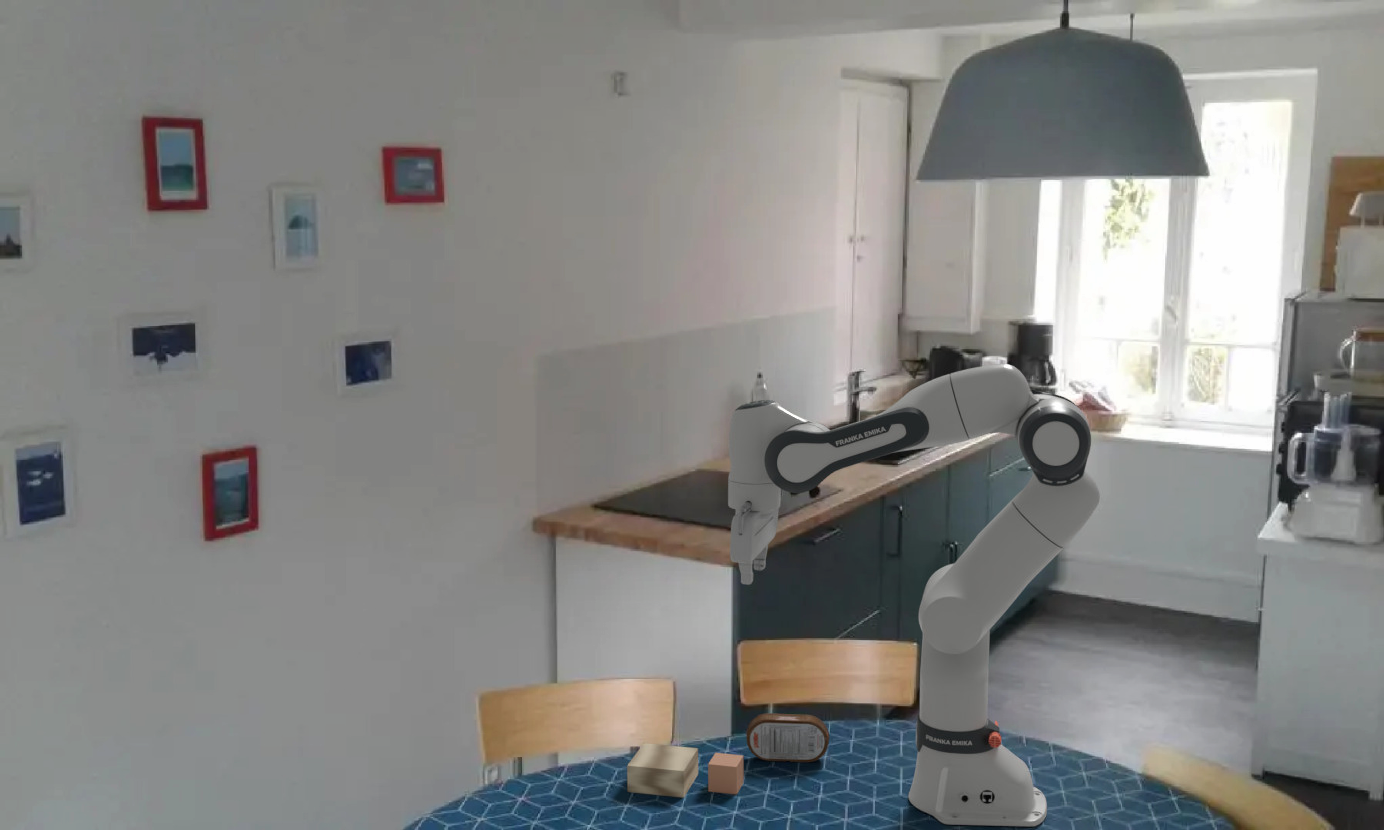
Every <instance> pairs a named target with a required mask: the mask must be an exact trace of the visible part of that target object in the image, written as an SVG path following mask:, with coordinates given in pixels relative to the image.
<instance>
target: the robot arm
mask: <svg viewBox="0 0 1384 830" xmlns="http://www.w3.org/2000/svg"><path fill="white" fill-rule="evenodd" d="M998 433H999V434H1006V435H1010V436H1012V437H1014V438H1015V440H1016V441H1017V442H1016V443H1017V444H1018V447H1019V448H1020V452H1021V455H1022V457H1023V458H1024V460H1025V462H1026V464H1027V465H1028V466H1029V467H1030V469H1031V471H1032V475H1031V478H1030V479H1029V481H1028V482H1027V483H1026V486H1025V487H1023V488H1022V489H1021V491H1020V490H1019V492H1018V493H1017V494H1015V496H1014V497H1013V498H1011V500H1010V501H1009V502H1008V503H1007V504H1006V505H1005V506H1004V507H1003V509H1001V510H999V512H998V513H997V514H996V516H995V517H993V518H992V520H991V521H990V522H988V523H987V524H986V526H985V527H984V528H983V529H981V531H980V532H979V533H978V534H977V535H976V537H975V538H974V540H972V541H971V543H970V544H969V546H968V547H967V548H966V549H965V550H964V551H963V552H962V554H961V555H960V556H959V557H958V558H957V559H956V561H955V562H954V563H949V564H946V565H945V566H943V567H941V568H939V569H938V570H936V571H934V573H933V574H931V576H930V577H929V579H928V581H927V583H926V585H925V587H924V590H923V594H922V598H921V601H920V605H919V609H918V624H919V627H920V630H921V632H922V641H921V643H922V645H921V657H920V659H921V660H920V668H919V669H920V670H919V671H920V672H919V674H920V675H919V677H920V680H919V714H918V715H917V719H916V723H915V745H916V751H917V753H916V754H917V756H916V764H915V769H914V775H913V779H912V783H911V786H910V790H909V792H908V800H909V802H910V803H911V804H912V805H913V806H914V807H915V808H916V809H918V810H919V811H921V812H923V813H927V815H930V816H933V817H934V818H935V819H936V820H938V822H940V823H941V824H944V825H953V826H954V825H957V826H959V825H961V826H965V825H966V826H992V827H993V826H995V827H997V826H998V827H1000V826H1002V827H1037V826H1039V825H1040V824H1041V823H1043V822H1044V821H1045V819H1046V817H1047V813H1048V804H1047V798H1046V796H1045V795H1044V793H1043V792H1042V791H1041V790H1040V788H1039V789H1038V788H1037V787H1035V786H1034V784H1033V778H1032V775H1031V772H1030V769H1029V767H1028V765H1027V764H1026V763H1025V761H1023V760H1022V759H1021V758H1019V757H1018V756H1017V755H1015V754H1014V753H1013V752H1011V751H1010V750H1009V749H1008V748H1007V747H1005V746H1004V745H1003V744H1002V736H1001V733H1000V731H1001V730H1000V727H999V722H998V721H997V720H994V722H993V721H992V720H990V718H988V702H989V701H988V695H989V665H990V661H989V660H990V658H989V657H990V635H991V633H990V631H991V629H992V628H993V626H995V624H996V623H997V622H998V621H999V620H1000V619H1001V617H1003V615H1004V614H1005V613H1006V612H1007V610H1009V608H1010V607H1011V606H1012V605H1013V603H1014V602H1015V600H1017V598H1018V597H1020V595H1021V593H1022V592H1023V591H1024V590H1025V588H1026V587H1027V586H1028V584H1030V583H1031V582H1032V580H1034V579H1035V578H1036V576H1037V575H1038V574H1039V573H1040V572H1042V570H1043V569H1044V568H1046V567H1047V565H1048V564H1049V563H1050V562H1052V560H1053V559H1055V557H1056V556H1057V555H1059V553H1060V552H1062V550H1064V548H1065V547H1067V545H1069V543H1071V542H1072V540H1073V539H1074V538H1075V537H1076V536H1077V535H1078V533H1079V532H1080V531H1081V530H1082V528H1083V527H1084V526H1085V525H1086V523H1087V522H1088V520H1089V519H1090V518H1091V516H1092V515H1093V513H1094V511H1095V510H1096V509H1097V507H1098V505H1099V503H1100V491H1099V488H1098V485H1097V483H1096V482H1095V480H1094V478H1093V477H1092V476H1091V475H1090V474H1089V473H1088V472H1087V471H1086V466H1087V461H1088V458H1089V455H1090V451H1091V446H1092V433H1091V430H1090V424H1089V422H1088V418H1087V417H1086V415H1085V413H1084V412H1083V411H1082V410H1081V409H1080V408H1079V406H1078V405H1077V404H1075V403H1074V402H1073V401H1072V400H1071V399H1069V398H1067V397H1065V396H1062V395H1059V394H1055V393H1049V392H1044V391H1040V390H1035V389H1031V388H1030V385H1029V383H1028V381H1027V378H1026V377H1025V375H1024V374H1023V373H1022V371H1021V370H1020V369H1018V368H1017V367H1015V366H1014V365H1011V364H1008V363H1000V364H989V365H983V366H982V365H981V366H976V367H972V368H971V367H970V368H967V369H962V370H958V371H955V372H951V373H948V374H945V375H941V376H939V377H936V378H934V379H931V380H929V381H927V382H924V383H922V384H920V385H918V386H917V387H915V388H913V389H911V390H910V391H908V392H907V393H906V394H905V395H904V396H902V397H901V398H900V399H898V401H896V402H895V403H894V404H893V405H891V406H890V407H888V408H887V409H885V410H884V411H882V412H880V413H879V414H876V415H874V416H871V417H868V418H866V419H865V418H864V419H863V420H859V421H857V422H853V423H849V424H847V425H843V426H840V427H838V428H835V429H834V428H833V429H830V428H829V427H828V426H826V425H824V424H823V423H820V422H817V421H813V420H810V419H806V418H805V417H802V416H799V415H797V414H794V413H792V412H791V411H789V410H787V409H786V408H784V407H783V406H782V405H781V404H780V403H778V402H777V401H775V400H771V399H767V400H766V399H765V400H764V399H763V400H755V401H751V402H747V403H744V404H742V405H739V406H738V407H737V408H736V409H735V410H734V411H733V413H732V414H731V418H730V425H729V433H728V457H729V460H730V469H729V473H728V480H727V481H728V483H727V485H728V488H727V505H728V507H729V508H731V509H732V510H733V509H734V510H735V515H733V517H732V520H731V525H730V541H729V543H730V544H729V557H730V560H731V562H733V563H738V568H739V572H740V583H741V584H742V585H747V586H748V585H752V583H753V581H754V572H753V569H754V570H755V571H763V570H764V569H765V568H766V561H767V560H766V558H767V554H768V549H769V544H770V543H771V542H772V540H773V539H775V537H776V534H777V530H778V521H779V510H780V509H779V508H781V500H782V499H783V491H784V492H787V493H792V494H803V493H807V492H810V491H812V490H813V489H815V488H816V487H817V486H818V485H820V484H821V483H822V482H824V480H826V479H827V478H828V477H829V476H831V475H832V474H833V473H835V472H837V471H840V470H843V469H844V468H848V467H851V466H854V465H858V464H862V463H864V462H867V461H870V460H874V459H877V458H880V457H883V456H887V455H890V454H893V453H898V452H905V451H906V452H907V451H912V450H919V449H929V448H935V447H944V446H949V445H954V444H958V443H962V442H966V441H969V440H973V439H976V438H979V437H983V436H985V435H989V434H998Z"/></svg>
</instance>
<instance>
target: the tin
mask: <svg viewBox="0 0 1384 830" xmlns="http://www.w3.org/2000/svg"><path fill="white" fill-rule="evenodd" d="M745 734H746V745H747V748H748V749H749V751H750V752H751V754H752V755H754V756H755V757H756V758H758V759H760V760H763V761H767V762H786V761H790V762H791V763H793V762H794V763H812V762H816V761H818V760H820V759H821V758H822V757H824V755H825V753H826V752H827V750H828V747H829V743H830V732H829V728H828V726H827V725H826V724H825V722H824V721H822V720H821V719H820V718H818V717H816V716H814V715H811V714H792V713H791V714H789V713H788V714H787V713H774V712H773V713H768V712H767V713H762V714H758V715H757V716H756V717H754V718H753V719H751V721H750V722H749V724H748V725H747V728H746V732H745Z"/></svg>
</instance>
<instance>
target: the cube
mask: <svg viewBox="0 0 1384 830" xmlns="http://www.w3.org/2000/svg"><path fill="white" fill-rule="evenodd" d="M707 765H708V766H707V771H708V772H707V775H708V776H707V777H708V779H707V780H708V784H707V785H708V792H710V793H711V792H712V793H720V794H721V793H722V794H728V795H729V794H731V795H738V793H739V791H740V790H741V788H742V786H743V784H744V778H745V777H744V755H741V754H733V753H732V754H731V753H720V752H715V753H714V754H713V756H712V758H711V759H710V761H709V762H708V764H707Z"/></svg>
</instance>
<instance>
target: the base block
mask: <svg viewBox="0 0 1384 830" xmlns="http://www.w3.org/2000/svg"><path fill="white" fill-rule="evenodd" d="M626 773H627V774H626V776H627V779H626V780H627V792H628V793H635V794H645V795H656V796H664V797H665V796H666V797H674V798H683V799H684V798H685V796H686V795H687V793H688V791H689V790H690V789H691V787H692V785H693V783H694V782H695V780H696V778H697V776H698V775H699V748H697V747H688V746H686V747H685V746H676V745H664V744H655V743H643V744H642V745H641V746H640V748H639V749H638V750H637V752H636V753H635V754H634V756H633V757H632V759H631V760H630V761H629V762H628V764H627V765H626Z"/></svg>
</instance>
